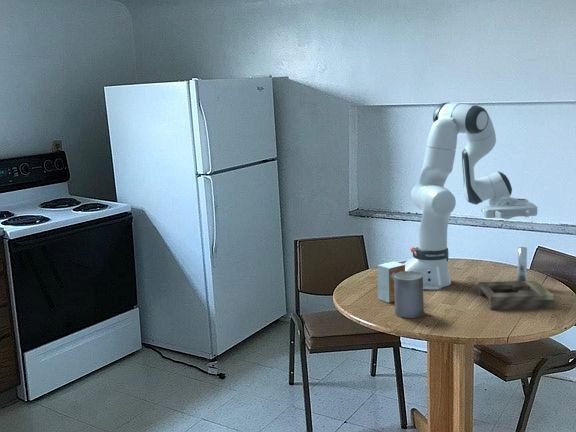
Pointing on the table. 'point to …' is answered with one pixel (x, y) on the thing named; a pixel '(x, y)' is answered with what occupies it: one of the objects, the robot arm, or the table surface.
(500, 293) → the keyhole plate
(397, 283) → the pillar candle
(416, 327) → the table surface
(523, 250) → the footed peg
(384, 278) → the small box
